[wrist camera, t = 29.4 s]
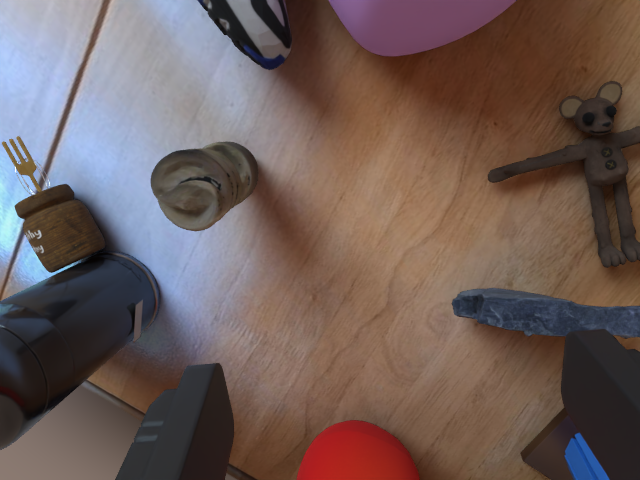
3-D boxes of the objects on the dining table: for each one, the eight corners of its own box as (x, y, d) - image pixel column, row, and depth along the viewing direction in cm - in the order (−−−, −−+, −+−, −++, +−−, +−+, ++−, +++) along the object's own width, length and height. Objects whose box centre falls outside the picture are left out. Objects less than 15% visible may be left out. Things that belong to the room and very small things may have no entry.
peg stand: (602, 507, 50) (639, 579, 42) (520, 453, 50) (541, 515, 42) (676, 439, 47) (729, 503, 40) (588, 382, 47) (625, 435, 39)
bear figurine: (518, 292, 43) (480, 128, 39) (507, 272, 47) (471, 122, 43) (756, 237, 39) (742, 48, 35) (721, 220, 43) (705, 49, 39)
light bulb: (285, 181, 47) (235, 215, 32) (236, 207, 48) (167, 249, 34) (256, 127, 46) (191, 136, 31) (207, 154, 47) (124, 175, 33)
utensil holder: (106, 246, 53) (46, 141, 50) (110, 244, 47) (44, 126, 45) (49, 274, 50) (-16, 164, 48) (47, 275, 44) (-27, 151, 42)
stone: (461, 337, 48) (477, 394, 38) (444, 280, 47) (456, 324, 37) (615, 302, 45) (675, 355, 35) (602, 240, 44) (659, 276, 34)
